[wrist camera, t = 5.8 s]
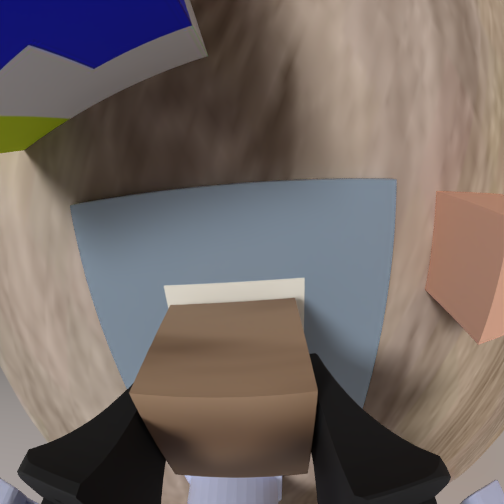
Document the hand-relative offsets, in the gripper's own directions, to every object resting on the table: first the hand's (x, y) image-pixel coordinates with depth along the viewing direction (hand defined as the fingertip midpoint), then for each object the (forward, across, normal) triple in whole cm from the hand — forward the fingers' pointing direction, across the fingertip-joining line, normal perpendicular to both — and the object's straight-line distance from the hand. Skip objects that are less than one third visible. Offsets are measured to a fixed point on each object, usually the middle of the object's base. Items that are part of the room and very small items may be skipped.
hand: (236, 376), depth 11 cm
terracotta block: (+3, -12, -4) cm, 13 cm away
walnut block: (+2, 0, 0) cm, 2 cm away
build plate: (+3, 0, 0) cm, 3 cm away
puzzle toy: (+3, +6, -16) cm, 18 cm away
